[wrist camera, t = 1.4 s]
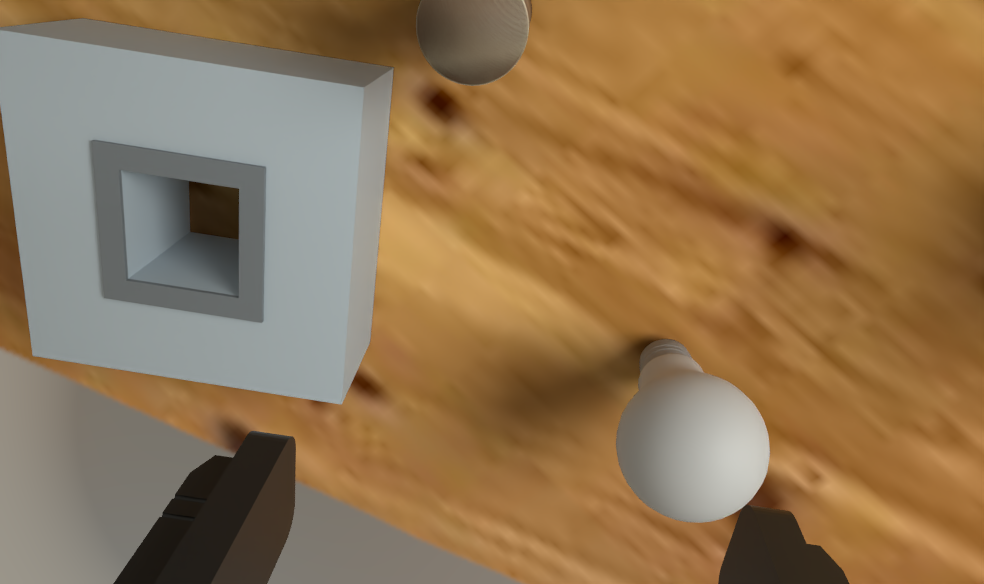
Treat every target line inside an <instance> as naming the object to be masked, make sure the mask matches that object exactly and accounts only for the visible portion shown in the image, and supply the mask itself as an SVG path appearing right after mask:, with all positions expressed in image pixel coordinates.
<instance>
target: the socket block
mask: <svg viewBox="0 0 984 584" xmlns="http://www.w3.org/2000/svg"><path fill="white" fill-rule="evenodd" d="M393 71H394V67H387V66H381V65H375V64H368V63H362V62H356V61H350V60H343V59H337V58H331V57H324V56H318V55H312V54H305V53H299V52H293V51H286V50H280V49H274V48H267V47H261V46H255V45H249V44H242V43H236V42H230V41H223V40H217V39H211V38H204V37H198V36H192V35H185V34H179V33H173V32H166V31H160V30H154V29H148V28H141V27H135V26H129V25H122V24H116V23H110V22H103V21H97V20H91V19H84V18H81V19H71V20H62V21H53V22H44V23H35V24H26V25H17V26H8V27H0V107H1V114H2V122H3V130H4V138H5V145H6V153H7V161H8V168H9V176H10V184H11V191H12V199H13V207H14V215H15V222H16V230H17V238H18V245H19V253H20V261H21V269H22V276H23V284H24V292H25V299H26V307H27V315H28V322H29V330H30V338H31V346H32V353H33V356H36V357H43V358H49V359H55V360H62V361H68V362H75V363H81V364H87V365H94V366H100V367H106V368H113V369H119V370H126V371H132V372H138V373H145V374H151V375H157V376H164V377H170V378H176V379H183V380H189V381H196V382H202V383H208V384H215V385H221V386H227V387H234V388H240V389H246V390H253V391H259V392H266V393H272V394H278V395H285V396H291V397H297V398H304V399H310V400H316V401H323V402H329V403H336V404H342V403H343V400H344V398H345V396H346V394H347V392H348V389H349V387H350V385H351V383H352V381H353V378H354V376H355V374H356V372H357V370H358V368H359V365H360V363H361V361H362V359H363V357H364V354H365V352H366V350H367V348H368V346H369V343H370V337H371V326H372V314H373V303H374V291H375V280H376V268H377V256H378V245H379V233H380V222H381V210H382V198H383V187H384V175H385V164H386V152H387V140H388V129H389V117H390V106H391V94H392V83H393ZM189 181H193V182H200V183H206V184H212V185H219V186H225V187H231V188H238V189H239V240H238V239H232V238H226V237H219V236H213V235H207V234H200V233H194V232H190V202H189Z"/></svg>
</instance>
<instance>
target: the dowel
mask: <svg viewBox="0 0 984 584" xmlns="http://www.w3.org/2000/svg"><path fill="white" fill-rule="evenodd" d="M531 15H532V4H531V0H421V2H420V4H419V7H418V11H417V17H416V32H417V38H418V42H419V45H420V48H421V51H422V53H423V55H424V57H425V58H426V60H427V61H428V63H429V64H430V65H431V66H432V67H433V68H434V69H435V70H436V71H437V72H438V73H439V74H441V75H442V76H443V77H445V78H447V79H449V80H450V81H453V82H456V83H458V84H463V85H471V86H474V85H483V84H488V83H491V82H493V81H496V80H498V79H500V78H501V77H503V76H504V75H506V74H507V73H508V72H509V71H510V70H511V69H512V68H513V67H514V66H515V65H516V63H517V62H518V60H519V59H520V57H521V55H522V53H523V51H524V49H525V46H526V42H527V38H528V32H529V25H530V20H531Z"/></svg>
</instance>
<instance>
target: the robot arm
mask: <svg viewBox="0 0 984 584" xmlns="http://www.w3.org/2000/svg"><path fill="white" fill-rule="evenodd" d="M295 459H296V444H295V439H294V437H291V436H284V435H277V434H270V433H264V432H257V431H251V432H250V433H249V434H248V435H247V437H246V438H245V440H244V441H243V443H242V445H241V446H240V448H239V449H238V451H237V453H236V454H235V456H234V457H233V458H231V457H224V456H216V455H215V456H214V457H212V458H211V459H209V460H208V461H206V462H205V463H204V464H202V465H200V466H199V467H198V468H196V469H195V470H193V471H192V472H191V473H190V474H189V475H188V477H187V478H186V480H185V481H184V483H183V484H182V485H181V487H180V488H179V490H178V491H177V493H176V494H175V498H174V499H172V500H171V501H170V503H169V504H168V506H167V507H166V509H165V510H164V511H163V515H162V517H159V519H158V520H157V522H156V523H155V524H154V526H153V527H152V529H151V530H150V532H149V533H148V534H147V536H146V537H145V539H144V540H143V542H142V543H141V545H140V546H139V547H138V549H137V550H136V552H135V553H134V555H133V556H132V558H131V559H130V561H129V562H128V563H127V565H126V566H125V568H124V569H123V571H122V572H121V574H120V575H119V576H118V578H117V579H116V581H115V582H114V584H267V583H268V581H269V578H270V576H271V574H272V571H273V569H274V567H275V565H276V563H277V560H278V558H279V556H280V554H281V551H282V549H283V547H284V545H285V543H286V540H287V538H288V535H289V531H290V528H291V524H292V520H293V515H294V507H295ZM718 584H849V582H848V580H847V578H846V576H845V574H844V572H843V570H842V569H841V568H840V567H839V566H838V565H837V564H836V563H835V561H834V560H833V559H832V558H831V557H830V556H829V555H828V554H827V553H826V552H825V551H824V550H823V549H822V547H821V546H817V545H811V544H806V542H805V539H804V537H803V535H802V532H801V530H800V528H799V526H798V523H797V521H796V519H795V517H794V515H793V514H792V513H791V512H790V511H785V510H778V509H771V508H764V507H758V506H751V505H746V506H744V507H743V509H742V510H741V512H740V515H739V518H738V520H737V523H736V526H735V529H734V532H733V535H732V538H731V541H730V543H729V546H728V549H727V552H726V555H725V558H724V561H723V564H722V566H721V570H720V575H719V583H718Z"/></svg>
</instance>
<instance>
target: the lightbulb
mask: <svg viewBox="0 0 984 584" xmlns="http://www.w3.org/2000/svg"><path fill="white" fill-rule="evenodd" d="M639 363H640V377H639V380H638V388H639V391H638V392H637V393H636V394H635V395H634V397H633V398H632V399H631V400H630V402H629V403H628V404H627V406H626V408H625V410H624V411H623V413H622V416H621V419H620V422H619V426H618V430H617V438H616V449H617V455H618V461H619V466H620V468H621V470H622V473H623V475H624V477H625V479H626V481H627V483H628V484H629V486H630V487H631V489H632V490H633V491H634V493H635V494H636V495H637V496H638V497H639V498H640V499H641V500H642V501H643V502H644V503H645V504H646V505H647V506H648V507H650V508H652V509H653V510H655V511H657V512H658V513H660V514H662V515H664V516H667V517H670V518H672V519H675V520H679V521H685V522H710V521H715V520H718V519H722V518H724V517H727V516H729V515H731V514H733V513H735V512H736V511H738V510H739V509H741V508H742V507H744V506H745V505H746V504H747V503H748V502H749V501H750V500H751V499H752V498H753V496H754V495H755V494H756V492H757V491H758V489H759V488H760V486H761V485H762V483H763V481H764V478H765V476H766V474H767V469H768V463H769V456H770V448H769V438H768V432H767V429H766V426H765V423H764V420H763V418H762V416H761V414H760V413H759V411H758V410H757V408H756V406H755V405H754V403H753V402H752V401H751V400H750V399H749V398H748V397H747V396H746V395H745V394H744V393H743V392H742V391H740V390H739V389H738V388H737V387H736V386H734V385H732V384H731V383H729V382H728V381H726V380H723V379H721V378H718V377H716V376H713V375H710V374H707V373H704V372H703V370H702V369H701V367H700V366H699V365H698V364H697V363H696V362H695V361H694V360H693V359H692V357H691V356H690V354H689V352H688V351H687V349H686V348H685V347H684V346H683V345H682V344H681V343H679V342H677V341H675V340H671V339H661V340H657V341H654V342H652V343H651V344H649V345H648V346H647V347H646V348H645V349H644V350H643V352H642V353H641V356H640V362H639Z"/></svg>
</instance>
